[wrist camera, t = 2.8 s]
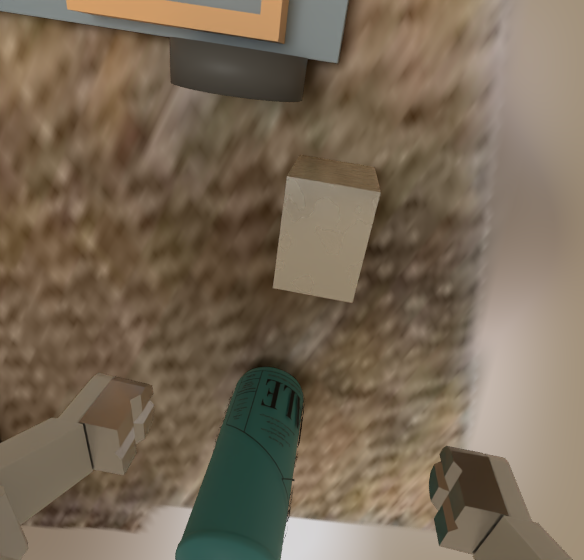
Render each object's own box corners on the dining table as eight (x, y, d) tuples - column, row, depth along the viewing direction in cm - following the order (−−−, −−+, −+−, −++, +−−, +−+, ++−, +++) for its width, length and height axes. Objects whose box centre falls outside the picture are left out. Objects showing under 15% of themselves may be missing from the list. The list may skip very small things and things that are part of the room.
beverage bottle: (234, 394, 37) (130, 680, 20) (246, 343, 34) (135, 633, 16) (298, 412, 37) (251, 714, 20) (317, 364, 34) (280, 675, 16)
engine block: (352, 260, 28) (352, 302, 23) (286, 248, 29) (272, 288, 24) (374, 166, 25) (380, 192, 20) (300, 154, 25) (286, 176, 20)
